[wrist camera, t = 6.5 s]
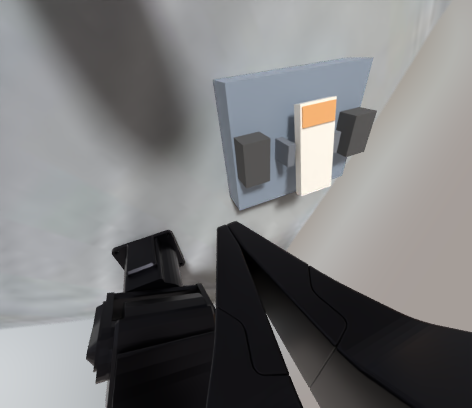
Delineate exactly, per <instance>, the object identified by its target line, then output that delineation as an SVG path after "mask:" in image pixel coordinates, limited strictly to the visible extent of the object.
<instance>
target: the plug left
mask: <svg viewBox="0 0 472 408" xmlns="http://www.w3.org/2000/svg"><path fill="white" fill-rule="evenodd" d="M270 142H271V138H269V137H268V136H266V135H264V134H263V133H261V132H255V133H250V134H246V135H242V136H238V137H234V147H235V156H236V165H237V174H238V179H239V180H240V181H241V183H242V184H243V185H244V186H245V187H246V188H250V187H253V186H256V185H259V184H262V183H266V182H269V181H270Z"/></svg>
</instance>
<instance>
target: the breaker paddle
mask: <svg viewBox="0 0 472 408" xmlns="http://www.w3.org/2000/svg"><path fill="white" fill-rule="evenodd" d="M336 100H337V96H333V97H326V98H322V99H317V100H313V101H308V102H303V103H299V104H294V124H295V144H296V151H295V163H296V193H297V194H298V195H300V196H303V195H306V194H309V193H312V192H315V191H318V190H320V189H323V188H326V187H329V186H331V176H332V161H333V145H334V130H335V115H336Z"/></svg>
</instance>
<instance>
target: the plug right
mask: <svg viewBox="0 0 472 408" xmlns="http://www.w3.org/2000/svg"><path fill="white" fill-rule="evenodd" d="M376 112H377V111H375V110H370V109H366V108H361V107H357V108H353V109H349V110H345V111H340V113H339V117H338V122H337V127H336V130H337V131H340V132H341V135H340V140H339V144H338V148H337V153H338V154H340V155H342V156H344V157H348V156H351V155H354V154H358V153H361V152H364V150H365V147H366V143H367V140H368V137H369V134H370V131H371V128H372V125H373V121H374V118H375V115H376Z"/></svg>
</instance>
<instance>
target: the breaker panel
mask: <svg viewBox="0 0 472 408" xmlns="http://www.w3.org/2000/svg"><path fill="white" fill-rule="evenodd" d="M372 61H373V57H371V58H342V59H336V60H330V61H324V62H318V63H312V64H306V65H300V66H294V67H288V68H282V69H276V70H270V71H264V72H258V73H252V74H246V75H240V76H234V77H228V78H222V79H216V80H213V84H214V90H215V97H216V104H217V111H218V117H219V124H220V131H221V138H222V145H223V151H224V158H225V165H226V172H227V178H228V185H229V192H230V197H231V198H232V200H233V201H234V203H235V204H236V206H237V207H238V209H239V210H243V209H245V208H248V207H251V206H254V205H257V204H260V203H263V202H266V201H269V200H272V199H275V198H278V197H281V196H284V195H287V194H289V193H292V192H295V191H296V163H295V151H296V144H295V124H294V104H299V103H303V102H308V101H313V100H317V99H322V98H326V97H333V96H337V100H336V115H335V130H334V145H333V161H332V176H331V179H334V178H336V177H339V176H342V174H343V170H344V166H345V162H346V159H347V157H344V156H342V155H340V154H338V153H337V148H338V144H339V140H340V135H341V132H340V131H337V130H336V127H337V122H338V117H339V113H340V111H345V110H349V109H353V108H357V107H360V106H361V102H362V99H363V95H364V91H365V87H366V84H367V80H368V76H369V72H370V69H371V65H372ZM255 132H261V133H263V134H264V135H266V136H268V137H269V138H271V142H270V181H269V182H266V183H262V184H259V185H256V186H253V187H250V188H246V187H245V186H244V185H243V184H242V183H241V181H240V180H239V179H238V174H237V165H236V156H235V147H234V137H238V136H242V135H246V134H250V133H255Z"/></svg>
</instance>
